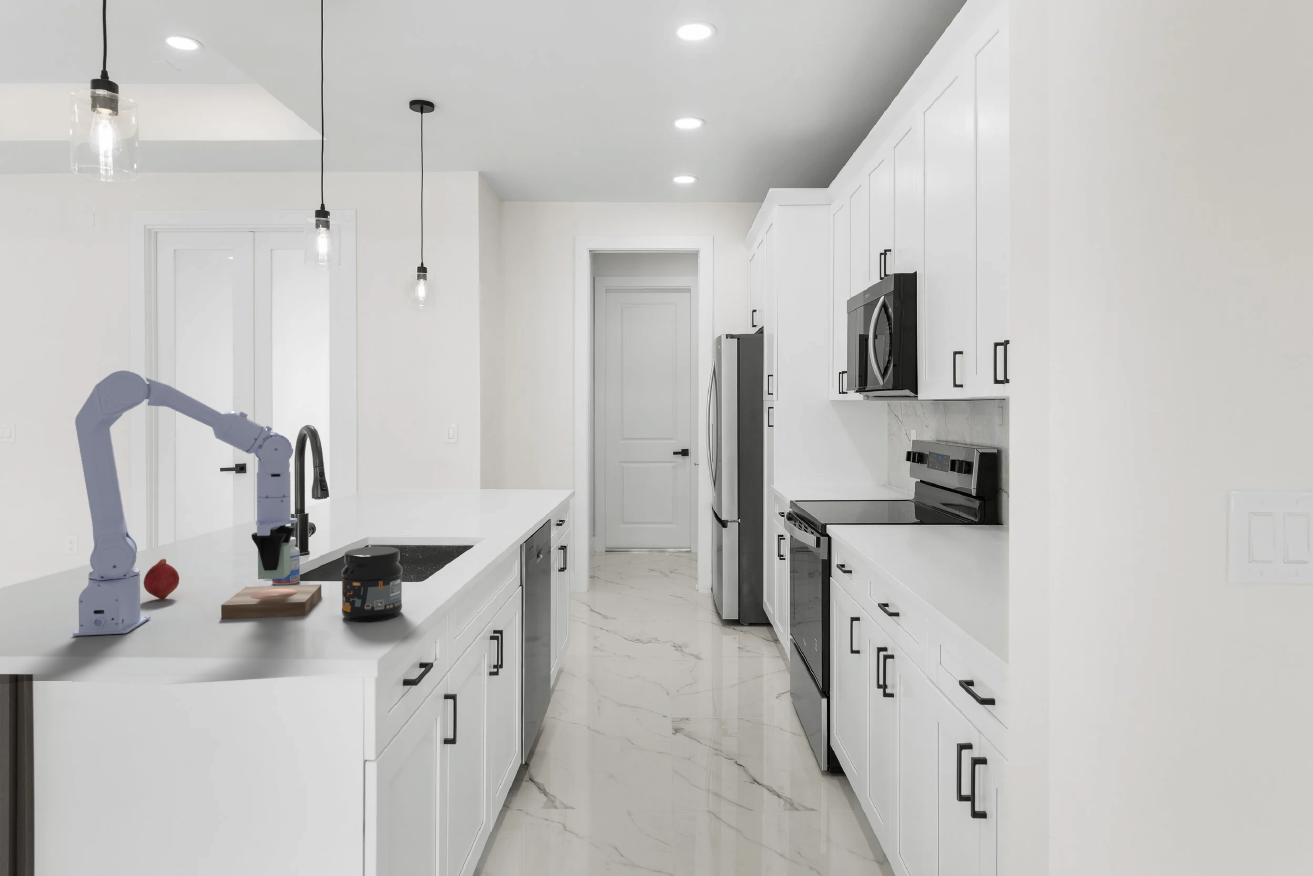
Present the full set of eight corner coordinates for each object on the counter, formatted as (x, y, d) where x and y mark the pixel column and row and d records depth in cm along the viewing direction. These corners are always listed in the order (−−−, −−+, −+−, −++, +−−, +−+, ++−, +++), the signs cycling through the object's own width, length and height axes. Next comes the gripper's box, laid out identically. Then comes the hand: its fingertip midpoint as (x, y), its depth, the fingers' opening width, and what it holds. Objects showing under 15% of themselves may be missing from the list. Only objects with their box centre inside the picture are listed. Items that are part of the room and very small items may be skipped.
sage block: (284, 578, 141) (283, 546, 141) (258, 579, 140) (257, 547, 140) (290, 573, 146) (290, 542, 145) (265, 574, 145) (264, 543, 144)
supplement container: (342, 610, 142) (342, 547, 141) (401, 606, 145) (401, 544, 145) (340, 625, 132) (340, 558, 131) (403, 620, 136) (403, 554, 135)
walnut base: (305, 615, 138) (305, 601, 138) (221, 618, 135) (221, 604, 135) (321, 596, 152) (321, 584, 151) (245, 599, 148) (245, 586, 148)
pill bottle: (272, 581, 164) (272, 537, 164) (299, 579, 167) (299, 535, 166) (271, 586, 159) (271, 541, 159) (299, 584, 162) (299, 539, 161)
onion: (150, 604, 144) (150, 563, 144) (139, 599, 147) (139, 559, 147) (184, 598, 148) (183, 558, 148) (172, 594, 152) (172, 554, 152)
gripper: (286, 500, 136) (287, 574, 137) (305, 491, 150) (305, 559, 151) (244, 501, 135) (244, 576, 135) (267, 492, 149) (267, 560, 149)
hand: (274, 567), depth 143 cm, fingers closed on sage block, 4 cm apart
